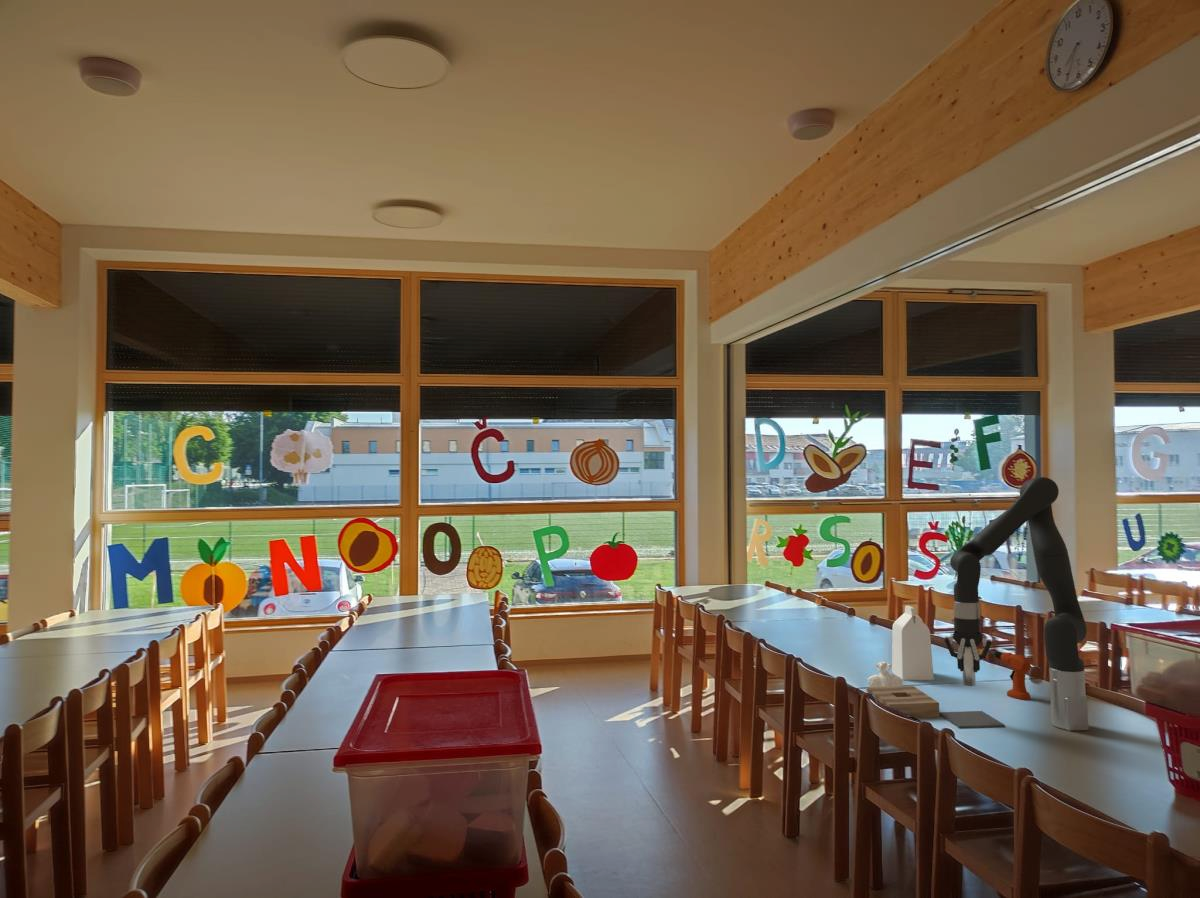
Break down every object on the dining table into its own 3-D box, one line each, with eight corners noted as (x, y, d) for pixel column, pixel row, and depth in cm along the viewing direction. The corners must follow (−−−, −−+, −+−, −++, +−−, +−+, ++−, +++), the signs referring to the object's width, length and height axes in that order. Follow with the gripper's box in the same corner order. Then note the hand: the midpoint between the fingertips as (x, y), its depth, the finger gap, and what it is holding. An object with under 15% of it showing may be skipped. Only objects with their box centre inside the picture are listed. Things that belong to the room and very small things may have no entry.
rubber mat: (1004, 726, 238) (1004, 724, 238) (959, 728, 238) (958, 726, 238) (981, 712, 252) (981, 710, 252) (938, 714, 252) (938, 712, 252)
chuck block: (939, 717, 249) (939, 702, 249) (889, 718, 249) (888, 704, 249) (913, 699, 269) (913, 685, 269) (866, 700, 269) (866, 687, 269)
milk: (891, 672, 305) (889, 604, 306) (922, 671, 305) (919, 604, 306) (902, 680, 293) (899, 609, 294) (933, 679, 293) (931, 609, 294)
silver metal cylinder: (977, 685, 244) (976, 646, 244) (966, 686, 244) (964, 647, 244) (972, 682, 248) (970, 644, 248) (960, 682, 248) (959, 644, 248)
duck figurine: (902, 698, 278) (896, 667, 285) (906, 689, 272) (900, 658, 280) (867, 697, 280) (862, 667, 287) (871, 689, 274) (865, 658, 281)
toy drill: (987, 681, 283) (990, 640, 282) (1033, 701, 266) (1036, 658, 265) (977, 683, 281) (980, 642, 280) (1022, 703, 264) (1026, 659, 263)
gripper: (991, 615, 247) (993, 670, 246) (942, 612, 253) (944, 666, 252) (992, 619, 240) (994, 676, 240) (941, 616, 246) (943, 672, 245)
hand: (968, 670), depth 246 cm, fingers closed on silver metal cylinder, 3 cm apart
